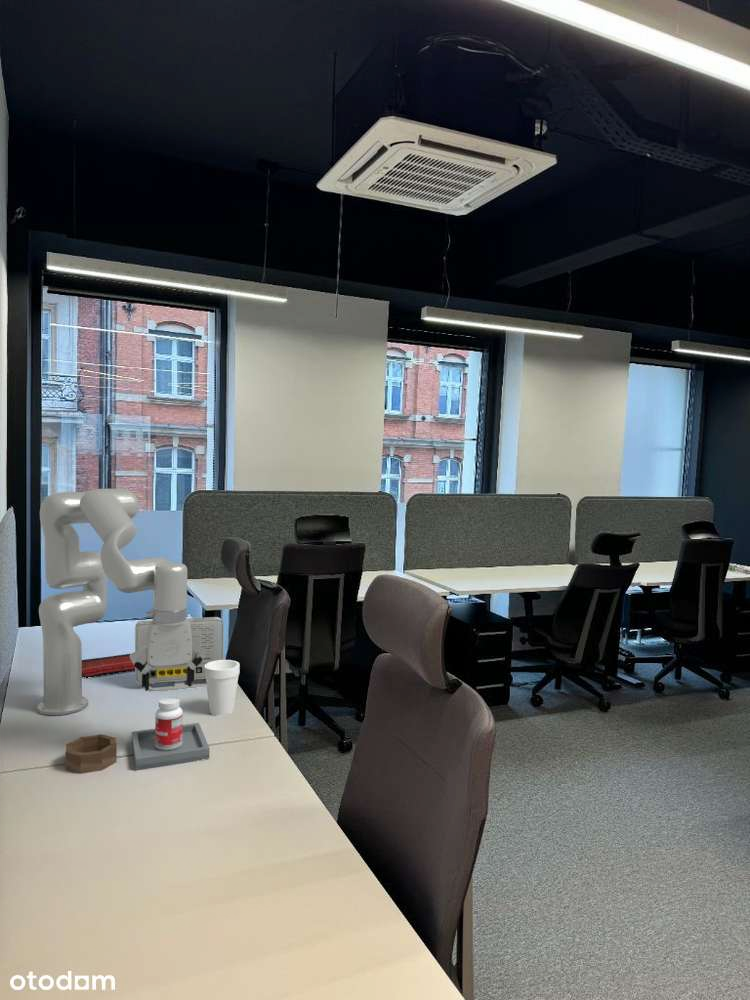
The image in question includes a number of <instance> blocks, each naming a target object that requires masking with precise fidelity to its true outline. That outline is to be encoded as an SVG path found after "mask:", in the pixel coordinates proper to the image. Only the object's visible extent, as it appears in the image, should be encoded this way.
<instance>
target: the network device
mask: <svg viewBox="0 0 750 1000" xmlns="http://www.w3.org/2000/svg"><path fill="white" fill-rule="evenodd" d="M186 619H188V620H189V621H190V626H191V635H192V643H194V644H196V645H198V646H201V647H203V648H205V649H206V651H207V652H206V654H205V656H204V658H203V659H202V662H201V663H200V664H199V665H198V666H197V667H196V669H195V670H194V681H197V680H196V679H206V677H205V664H207V663H208V662H212V661H217V660H224V622H223V620H222V618H220V617H218V616H212V617H211V616H209V617H193V618H192V617H191V618H190V617H189V618H187V617H186ZM152 620H153V619H150V620H139V621H137V622H136V624H135V628H134V652H135V651H137V650H139V649H141V648H143V647H145V646H146V644H147V635H148V628H149V624H150V621H152ZM198 654H199V652H197V651H194V650H192V661H193V660H194V659H195V658H196V657H197V656H198ZM137 659H138V661H139V662H140V663H141V664H144V663H145V662H146V661H147V659H146V653H145V654H143V655H142V656H140V657H138V658H137ZM187 667H188V665H187V664H182V665H171V666H159V667H151V668H150V670H149V671H148V672H149V691H148V692H151V691H159V692H168V690H171V691H180V690H179V689H183V690H188V689H187V688H195V689H197V688H196V687H205V686H207V684H196V685H192V686H191V687H189V686H188V685H186V683H185V682H186V681H185V680H187ZM134 680H135V682H136V684H138V685H142V673H141V672H140V671H139V670H138V669H137V668H136V667H135V671H134ZM159 682H160V683H159ZM161 682H166V683H174V685H173V686H171V687H159V688H152V685H153V684H152V683H154V684H162V683H161ZM151 684H152V685H151ZM205 688H206V687H205Z"/></svg>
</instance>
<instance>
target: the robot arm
mask: <svg viewBox="0 0 750 1000" xmlns="http://www.w3.org/2000/svg"><path fill="white" fill-rule="evenodd" d="M139 509H140V505H139V499H138V498H137V496H136V494H135V493H134V492H133V491H131V490H130V489H127V488H120V487H119V488H118V487H117V488H95V489H91V490H89V491H65V492H57V493H52V494H50V495H47V496H46V497H45V498H44V500H43V501H42V502H41V504H40V509H39V521H40V525H41V528H42V531H43V535H44V536H43V537H44V570H45V571H44V573H45V576H44V577H45V582H46V584H47V585H48V587H49V588H52V589H57V590H58V589H60V590H61V589H62V590H64V589H70V588H77V587H82V590H80V589H79V590H75V591H74V590H73V591H67V592H62V593H61V592H60V593H55V594H51V595H49V596H47V597H45V598H44V599H43V600H41V603H40V604H39V606H38V614H39V615H38V616H39V621H40V626H41V632H42V642H43V643H42V648H43V649H42V650H43V651H42V652H43V653H42V654H43V656H42V657H43V660H42V661H43V666H42V667H43V700H42V701H41V702H39V704H38V705H36V706H37V707H36V708H37V712H38V713H39V714H42V715H45V716H63V715H70V714H73V713H76V712H79V711H81V710H84V709H85V708H86V707H87V706H88V704H89V699H88V698H86V697H85V696H83V678H82V660H83V658H82V657H83V656H82V655H83V654H82V653H83V649H82V648H83V647H82V641H81V638H80V636H79V635H78V634H77V633H76V631H75V630H74V628H75V627H79V626H82V625H87V624H92V623H96V622H99V621H100V620H102V619H103V618H104V617H105V615H106V612H107V607H108V579H109V581H110V582H111V584H113V586H114V587H115V588H116V589H117V590H118V591H120V592H122V593H125V594H131V593H137V592H138V593H140V592H143V591H150V590H153V593H152V594H153V597H152V598H153V599H152V609H151V610H150V611H145V612H146V613H145V614H146V617H145V618H147V619H148V618H149V619H151V620H152V621H150V624H149V628H148V635H147V644H146V646H145V647H143V648H141V649H139V650H137V651H135V650H134V652H132V654H131V653H129V654H130V659H131V661H132V663H133V664H134V666H135V667H136V668H137V669H138V670H139V671H140V672H141V673H142V684H141V687H144V690H145V692H149V691H148V690H149V672H148V671H149V670H150V668H151V667H159V666H171V665H182V664H187V665H188V667H187V681H186V684H187V686H189V687H191V686H193V685H192V683H194V682H195V680H194V670H195V669H196V667H197V666H198V665H199V664H200V663H201V662H202V659H203V658H204V656H205V654H206V652H207V651H206V649H205V648H203V647H201V646H198V645H196V644H194V643H192V635H191V626H190V621H189V620H188V619H187V609H188V608H187V606H188V605H187V603H188V600H187V599H188V598H187V597H188V567H187V565H185V564H184V563H181V562H175V561H174V562H173V561H171V560H169V559H167V558H165V557H160V556H159V557H150V558H140V559H133V560H127V559H126V558H125V556H123V554H122V553H121V552H120V550H122V549H123V548H125V547H126V546H127V545H129V544H130V543H131V542H132V541H133V540H134V538H135V536H136V535H137V531H138V530H137V526H136V524H135V522H134V521H133V520H132V519H133V518H135V517H136V516H137V514H138V512H139ZM75 524H90V526H91V527H92V528H93V530H94V531H95V532H96V534H97V536H99V538H100V539H101V540H102V542H103V544H102V547H101V550H100V553H99V552H97V551H93V550H87V551H80V536H79V534H78V532H77V530H76V529H75V527H74V526H73V525H75ZM192 650H194V651H197V652H199V654H198V656H197V657H196V658H195V659H194V660H193V661H192ZM145 653H146V659H147V661H146V662H145V663H144V664H141V663H140V662H139V661H138V659H137V658H138V657H140V656H142V655H143V654H145Z"/></svg>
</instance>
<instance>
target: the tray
mask: <svg viewBox="0 0 750 1000" xmlns="http://www.w3.org/2000/svg"><path fill="white" fill-rule="evenodd" d="M130 740H131V747H132V749H131V750H132V753H133V754H132V755H133V760H134V766H135V771H142V770H147V769H155V768H160V767H167V766H173V765H179V764H186V763H191V762H198V761H197V760H199V761H203V760H202V759H206V760H209V759H210V751H211V750H210V746H209V744H208V742H207V739H206V736H205V734H204V732H203V730H202V728H201V725H200V722H195V723H194V722H193V723H186V724H183V738H182V745H181V746H180V747H179V748H177V749H174V750H168V751H164V750H159V749H158V748H156V745H155V728H151V729H143V730H133V731H131V739H130ZM208 758H209V759H208Z"/></svg>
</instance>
